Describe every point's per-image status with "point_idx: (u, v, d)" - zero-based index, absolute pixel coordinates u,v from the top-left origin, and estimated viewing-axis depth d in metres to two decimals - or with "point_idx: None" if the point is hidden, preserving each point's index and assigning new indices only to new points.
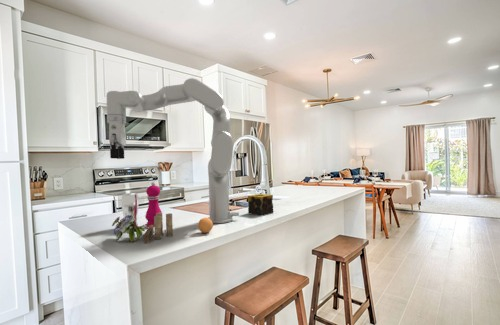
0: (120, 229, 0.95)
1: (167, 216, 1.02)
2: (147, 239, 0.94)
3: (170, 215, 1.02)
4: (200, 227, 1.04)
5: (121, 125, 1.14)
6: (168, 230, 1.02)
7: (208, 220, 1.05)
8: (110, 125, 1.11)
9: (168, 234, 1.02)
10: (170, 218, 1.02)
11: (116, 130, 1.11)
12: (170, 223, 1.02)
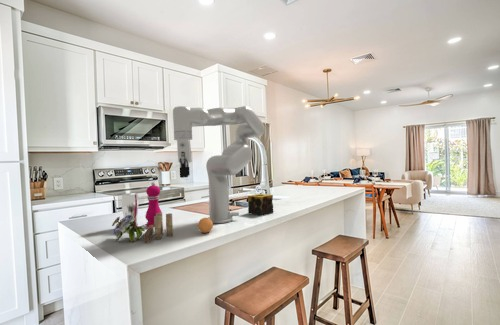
0: (120, 229, 0.95)
1: (167, 216, 1.02)
2: (147, 239, 0.94)
3: (170, 215, 1.02)
4: (200, 227, 1.04)
5: (189, 142, 1.09)
6: (168, 230, 1.02)
7: (208, 220, 1.05)
8: (178, 143, 1.06)
9: (168, 234, 1.02)
10: (170, 218, 1.02)
11: (185, 148, 1.06)
12: (170, 223, 1.02)
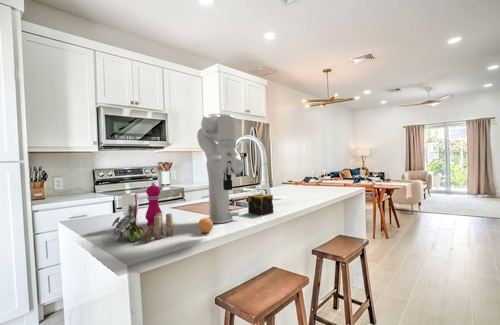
0: (120, 229, 0.95)
1: (167, 216, 1.02)
2: (147, 239, 0.94)
3: (170, 215, 1.02)
4: (200, 227, 1.04)
5: None
6: (168, 230, 1.02)
7: (208, 220, 1.05)
8: (225, 152, 1.03)
9: (168, 234, 1.02)
10: (170, 218, 1.02)
11: (231, 157, 1.03)
12: (170, 223, 1.02)
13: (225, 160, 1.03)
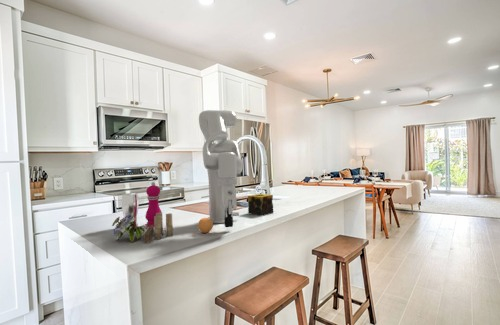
0: (120, 229, 0.95)
1: (167, 216, 1.02)
2: (147, 239, 0.94)
3: (170, 215, 1.02)
4: (200, 227, 1.04)
5: None
6: (168, 230, 1.02)
7: (208, 220, 1.05)
8: (225, 190, 1.03)
9: (168, 234, 1.02)
10: (170, 218, 1.02)
11: (232, 196, 1.03)
12: (170, 223, 1.02)
13: (226, 199, 1.03)
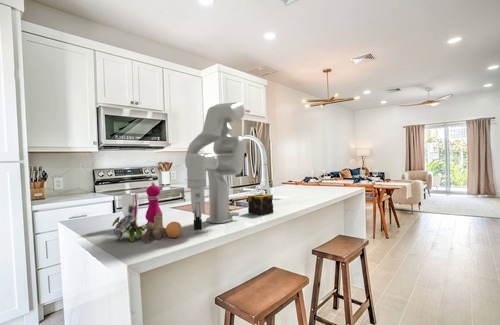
0: (120, 229, 0.95)
1: (148, 227, 1.00)
2: (147, 239, 0.94)
3: (149, 224, 1.00)
4: (179, 228, 0.99)
5: (203, 191, 1.03)
6: (162, 232, 1.01)
7: None
8: (193, 193, 1.01)
9: None
10: (152, 225, 1.00)
11: (200, 198, 1.01)
12: None
13: (193, 201, 1.00)
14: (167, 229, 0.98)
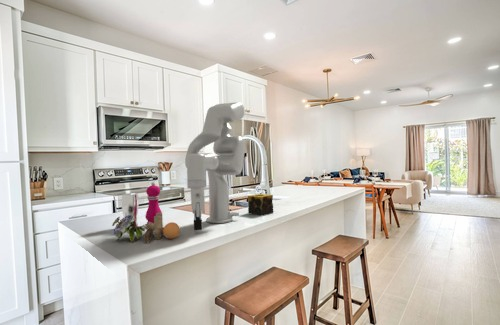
0: (120, 229, 0.95)
1: (148, 227, 1.00)
2: (147, 239, 0.94)
3: (149, 224, 1.00)
4: (176, 230, 0.97)
5: (203, 191, 1.03)
6: (162, 232, 1.01)
7: None
8: (193, 193, 1.01)
9: None
10: (152, 225, 1.00)
11: (200, 198, 1.01)
12: None
13: (193, 201, 1.00)
14: (165, 233, 0.97)
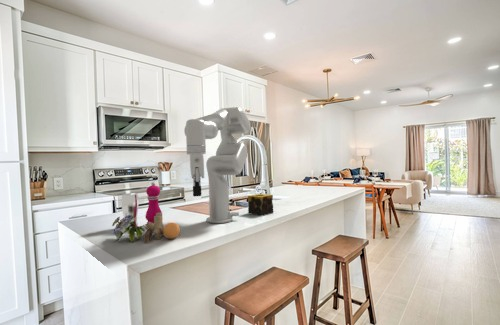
0: (120, 229, 0.95)
1: (148, 227, 1.00)
2: (147, 239, 0.94)
3: (149, 224, 1.00)
4: (176, 230, 0.97)
5: None
6: (162, 232, 1.01)
7: None
8: (192, 157, 1.01)
9: None
10: (152, 225, 1.00)
11: (199, 163, 1.01)
12: None
13: (193, 166, 1.00)
14: (165, 233, 0.97)
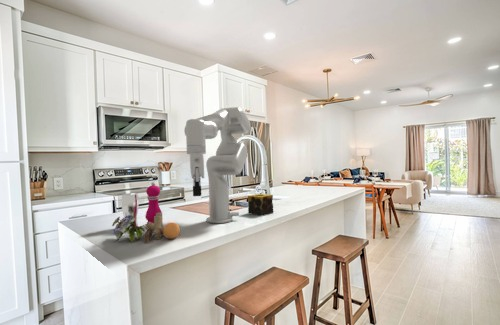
0: (120, 229, 0.95)
1: (148, 227, 1.00)
2: (147, 239, 0.94)
3: (149, 224, 1.00)
4: (176, 230, 0.97)
5: None
6: (162, 232, 1.01)
7: None
8: (192, 157, 1.01)
9: None
10: (152, 225, 1.00)
11: (199, 163, 1.01)
12: None
13: (193, 166, 1.00)
14: (165, 233, 0.97)
